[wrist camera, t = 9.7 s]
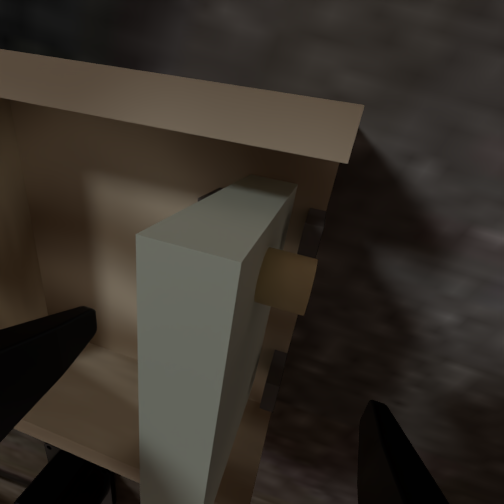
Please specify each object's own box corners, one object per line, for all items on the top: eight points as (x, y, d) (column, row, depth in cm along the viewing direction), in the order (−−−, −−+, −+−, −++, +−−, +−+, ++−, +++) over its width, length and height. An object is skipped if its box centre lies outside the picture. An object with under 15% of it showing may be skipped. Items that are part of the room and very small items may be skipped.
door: (277, 386, 15) (232, 577, 8) (221, 367, 15) (140, 534, 9) (330, 190, 10) (320, 283, 4) (250, 174, 11) (135, 233, 5)
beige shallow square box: (273, 401, 17) (243, 528, 11) (55, 325, 19) (-51, 400, 14) (350, 117, 10) (364, 105, 5) (12, 62, 13) (-213, 16, 8)
